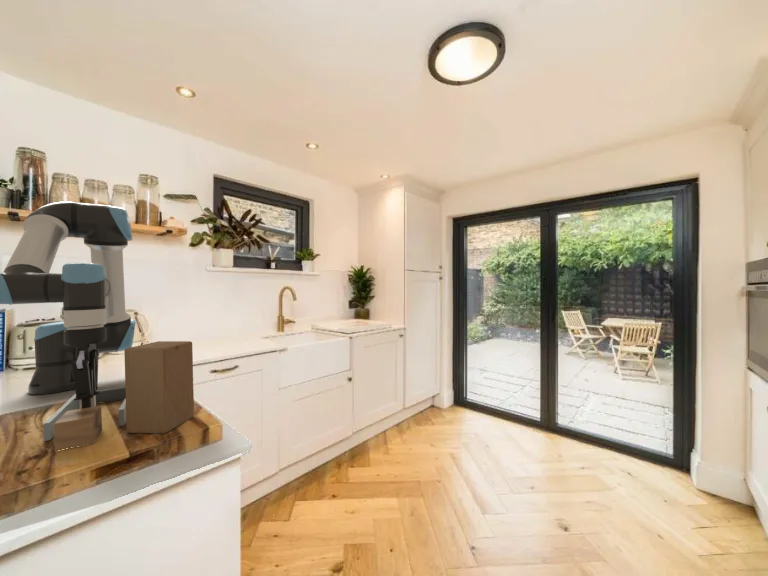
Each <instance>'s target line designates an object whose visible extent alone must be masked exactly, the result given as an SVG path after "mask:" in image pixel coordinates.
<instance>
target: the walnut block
mask: <svg viewBox="0 0 768 576" xmlns="http://www.w3.org/2000/svg"><path fill="white" fill-rule="evenodd" d="M102 410H103V409H102V405H96V406H95V407H89V408H83V409H77V410H70V411H67V412H66V413H65V414H63V415H62V416H61V417H60V418H59V419H58V420H57V421H56V422H55V423H54V436H53V438H54V452H55V451H58V450H62V449H66V448H71V447H77V446H82V447H84V446H83V445H87V444H91V445H94V444H95V442H96V441H95V440H97V439H98V437H99V436H100V434H101V433H102V430H103V419H102V413H103V412H102ZM93 443H94V444H93ZM87 446H88V445H87ZM77 448H78V447H77ZM58 452H59V451H58Z"/></svg>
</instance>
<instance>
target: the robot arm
mask: <svg viewBox="0 0 768 576" xmlns="http://www.w3.org/2000/svg"><path fill="white" fill-rule="evenodd" d="M130 221H131V220H130V217H129V214H128V211H127V210H126V209H125V208H123V207H119V206H113V205H109V204H107V205H105V204H95V203H84V202H75V201H59V202H52V203H48V204H46V205H43V206H41V207H38V208H37V209H35V210H33V211H32V212H31V213H30V214H28V215H27V217H26V218H25V219H24V221H23V224H22V228H23V230H24V232H23V234H22V236H21V238H20V240H19V241H18V243H17V245H16V247H15V249H14V251H13V253H12V255H11V257H10V259H9V261H8V263H6V265H5V267H4V270H3V271H2V272H0V305H10V306H11V305H24V304H25V305H26V304H28V305H29V304H49V303H50V304H51V303H52V304H54V303H63V304H62V305H63V306H62V310H63V311H62V312H63V313H62V314H60V315H59V319H63V321H57V322H49V323H45V324H41V325H39V326H37V327H36V328H35V330H34V339H33V341H34V357H35V358H34V359H35V360H34V361H35V369H34V373H33V375H32V377H31V379H30V382H29V384H28V386H27V387H28V388H27V391H28V394H29V395H47V394H56V393H61V392H66V391H70V390H71V391H72V390H75V393H76V397H75V398H74V400H79V409H83V408H89V407H95V406H97V404H96V394H100V391H97V390H99V385H98V384H99V382H98V381H99V380H98V379H99V357H100V354H106V353H107V354H108V353H118V352H123V351H125V349H127V348H131V347H133V343H134V337H135V329H136V323H137V322H136V320H135V319H133V318H132V317H131V316H132V315H131V314H129V313H128V312H127V311H126V297H125V294H126V292H125V277H124V275H125V273H124V252H123V251H124V249H125V248H126V247H128V243H129V242H131V241H132V240H133V233H132V226H131V222H130ZM66 238H79V239H80V238H81V239H83V244H84V245H85V246H86V247H88V248H89V249H90V259H91V260H90V263H88V262H87V263H83V262H69V263H65V264H63V265H62V268H61V269H62V270H61V272H59V273H58V272H56V273H53V272H51V273H50V271H51V268H52V265H53V264H54V260H55V258H56V256H57V253H58V250H59V247H60V244H61V242H62V241H64V240H65V239H66ZM94 395H95V396H94Z"/></svg>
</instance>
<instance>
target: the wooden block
mask: <svg viewBox="0 0 768 576" xmlns="http://www.w3.org/2000/svg"><path fill="white" fill-rule="evenodd" d="M193 357H194V356H193V342H192V341H188V340H187V341H186V340H183V341H181V340H178V341H176V340H175V341H172V340H171V341H165V340H164V341H162V340H161V341H160V340H159V341H155V342H150V343H144V344H141V345H136V346H132V347H131V348H127V349H125V350H124V381H125V384H124V385H125V391H126V422H125V424H126V433H131V434H134V433H135V434H160V435H161V434H162V435H163V434H166V433H168V432H170V431H172V430H174V429H175V428H177V427H179V426H180V425H182V424H183V423H185V422H187V421H189V420H190V419H191V418H193V417H194V415H195V404H194V403H195V402H194V401H195V398H194V396H195V395H194V361H193V360H194V359H193Z"/></svg>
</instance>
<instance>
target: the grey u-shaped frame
mask: <svg viewBox="0 0 768 576" xmlns="http://www.w3.org/2000/svg"><path fill="white" fill-rule="evenodd" d="M96 391H100V394H96V403H99V402H105V403H109V402H108V401H111V402H116V401H122V404H121V405H120V406H119V409H118V427H122V426H125V424H126V391H125V386H118V387H112V388H104V389H97V390H96ZM94 396H95V395H94ZM75 397H76V392H75V393H74V394H73V395H72V396H70V398H69V399H68V400H67V401H65V403H64V404H63V405H62V406H60V408H59V409H57V410H56V411H55V412H54V413H53V414H51V416H50V417H48V419H46V420H45V421H44V422H43V442H47V441H51V440H52V439H53V438H54V423H55V422H56V421H57V420H58V419H59V418H60V417H61V416H62V415H63V414H65V413H66V412H67V411H70V410H77V409H78V408H79V400H74V398H75ZM99 404H100V403H99Z"/></svg>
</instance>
